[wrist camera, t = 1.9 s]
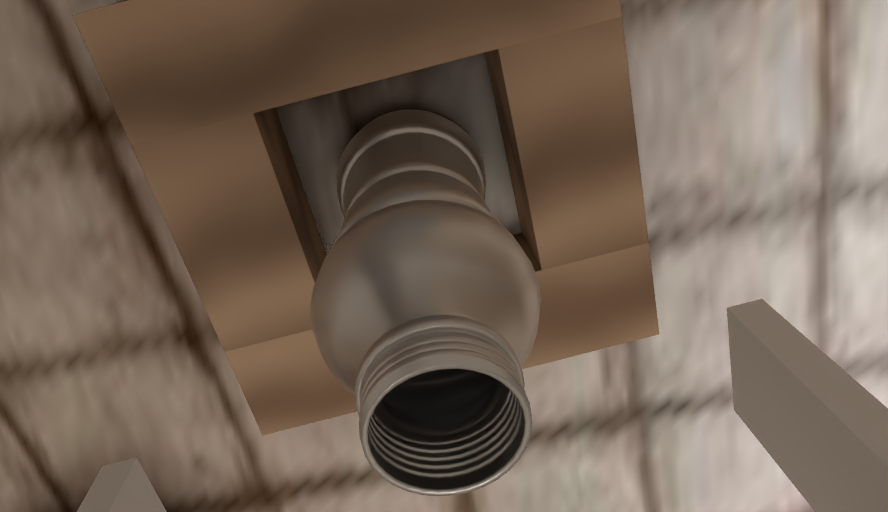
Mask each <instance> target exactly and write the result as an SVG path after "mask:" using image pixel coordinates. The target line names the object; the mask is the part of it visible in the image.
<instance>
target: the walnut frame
mask: <svg viewBox="0 0 888 512" xmlns="http://www.w3.org/2000/svg"><path fill="white" fill-rule="evenodd" d="M72 16H73V18H74V20H75V22H76V25H77V27H78V29H79V31H80V33H81V36H82V38H83V40H84V42H85V44H86V47H87V49H88V51H89V53H90V55H91V58H92V60H93V62H94V64H95V67H96V69H97V71H98V73H99V75H100V78H101V80H102V82H103V84H104V86H105V89H106V91H107V93H108V95H109V97H110V100H111V102H112V104H113V106H114V108H115V111H116V113H117V115H118V117H119V119H120V122H121V124H122V126H123V128H124V130H125V133H126V135H127V137H128V139H129V142H130V144H131V146H132V148H133V150H134V153H135V155H136V157H137V159H138V161H139V164H140V166H141V168H142V170H143V172H144V175H145V177H146V179H147V181H148V183H149V186H150V188H151V190H152V192H153V194H154V197H155V199H156V201H157V203H158V206H159V208H160V210H161V212H162V214H163V217H164V219H165V221H166V223H167V225H168V228H169V230H170V232H171V234H172V236H173V239H174V241H175V243H176V245H177V247H178V250H179V252H180V254H181V256H182V258H183V261H184V263H185V265H186V267H187V270H188V272H189V274H190V276H191V278H192V281H193V283H194V285H195V287H196V289H197V292H198V294H199V296H200V298H201V300H202V303H203V305H204V307H205V309H206V311H207V314H208V316H209V318H210V320H211V322H212V325H213V327H214V329H215V331H216V334H217V336H218V338H219V340H220V342H221V345H222V347H223V349H224V351H225V353H226V356H227V358H228V360H229V362H230V364H231V367H232V369H233V371H234V373H235V375H236V378H237V380H238V382H239V384H240V386H241V389H242V391H243V393H244V395H245V398H246V400H247V402H248V404H249V406H250V409H251V411H252V413H253V415H254V417H255V420H256V422H257V424H258V426H259V428H260V431H261V433H262V435H266V434H270V433H274V432H278V431H282V430H285V429H289V428H293V427H297V426H301V425H305V424H309V423H313V422H317V421H321V420H325V419H329V418H332V417H336V416H340V415H344V414H348V413H352V412H356V411H357V407H356V396H355V395H354V394H352V393H351V392H349V391H348V390H347V389H345V388H344V387H343V386H342V384H341V383H340V382H339V381H338V380H337V379H336V378H335V377H334V376H333V375H332V373H331V371H330V370H329V368H328V366H327V365H326V363H325V361H324V359H323V357H322V355H321V352H320V350H319V347H318V345H317V342H316V339H315V335H314V332H313V329H312V325H311V312H310V304H311V298H312V293H313V287H314V285H315V282H316V279H317V277H318V274H319V271H320V269H321V266H322V264H323V262H324V259H325V257H326V252H325V250H324V247H323V244H322V241H321V238H320V235H319V232H318V229H317V227H316V224H315V221H314V218H313V215H312V212H311V209H310V207H309V204H308V201H307V198H306V195H305V192H304V189H303V186H302V184H301V181H300V178H299V175H298V172H297V169H296V166H295V164H294V161H293V158H292V155H291V152H290V149H289V146H288V143H287V141H286V138H285V135H284V132H283V129H282V126H281V123H280V121H279V118H278V115H277V112H276V109H275V107H279V106H283V105H286V104H290V103H294V102H298V101H302V100H305V99H309V98H313V97H317V96H321V95H325V94H328V93H332V92H336V91H340V90H344V89H347V88H351V87H355V86H359V85H363V84H366V83H370V82H374V81H378V80H382V79H386V78H389V77H393V76H397V75H401V74H405V73H408V72H412V71H416V70H420V69H424V68H427V67H431V66H435V65H439V64H443V63H447V62H450V61H454V60H458V59H462V58H466V57H469V56H473V55H477V54H481V53H485V55H486V60H487V64H488V69H489V74H490V79H491V84H492V89H493V94H494V98H495V103H496V108H497V113H498V118H499V123H500V128H501V133H502V137H503V142H504V147H505V152H506V157H507V162H508V167H509V171H510V176H511V181H512V186H513V191H514V196H515V201H516V205H517V210H518V215H519V220H520V225H521V230H522V233H521V234H518V235H514V238H515V239H516V241H517V242H518V244H519V245H520V247H521V248H522V249H523V251H524V252H525V254H526V256H527V257H528V258H529V260H530V261H531V263H532V266H533V268H534V271H535V273H536V276H537V278H538V282H539V289H540V296H541V304H540V315H539V323H538V331H537V335H536V338H535V341H534V345H533V348H532V351H531V353H530V354H529V356H528V358H527V360H526V361H525V363H524V365H523V366H522V368H521V369H524V368H528V367H532V366H536V365H540V364H544V363H548V362H552V361H556V360H560V359H564V358H568V357H572V356H575V355H579V354H583V353H587V352H591V351H595V350H599V349H603V348H607V347H611V346H615V345H619V344H622V343H626V342H630V341H634V340H638V339H642V338H646V337H650V336H654V335H658V334H659V328H658V319H657V311H656V302H655V294H654V285H653V276H652V268H651V259H650V251H649V242H648V234H647V225H646V217H645V208H644V200H643V191H642V183H641V174H640V166H639V157H638V149H637V140H636V132H635V123H634V114H633V106H632V97H631V89H630V80H629V72H628V63H627V55H626V46H625V38H624V29H623V21H622V12H621V4H620V0H127V1H124V2H120V3H116V4H112V5H108V6H105V7H101V8H97V9H93V10H90V11H86V12H82V13H78V14H75V15H72Z"/></svg>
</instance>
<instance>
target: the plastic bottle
mask: <svg viewBox="0 0 888 512" xmlns="http://www.w3.org/2000/svg"><path fill="white" fill-rule="evenodd" d="M336 178H337V192H338V197H339V202H340V205H341V209H342V212H343V214H344V223H343V226H342V229H341V232H340V233H339V235H338V237H337V239H336V240H335V242H334V244H333V245H332V247H331V249H330V250H329V252H328V254H327V255H326V257H325V259H324V262H323V264H322V266H321V269H320V271H319V274H318V277H317V279H316V282H315V285H314V287H313V293H312V298H311V304H310V312H311V325H312V329H313V332H314V335H315V339H316V342H317V345H318V347H319V350H320V352H321V355H322V357H323V359H324V361H325V363H326V365H327V366H328V368H329V370H330V371H331V373H332V375H333V376H334V377H335V378H336V379H337V380H338V381H339V382H340V383H341V384H342V386H343V387H344V388H345V389H347V390H348V391H349V392H351V393H352V394H354V395H355V396H356V407H357V411H358V414H359V417H360V418H359V429H360V440H361V443H362V447H363V450H364V454H365V456H366V458H367V460H368V461H369V463H370V465H371V466H372V468H373V469H374V470H375V471H376V472H377V473H378V474H379V475H380V476H381V477H382V478H383V479H385V480H386V481H388V482H389V483H391V484H392V485H394V486H396V487H399V488H401V489H403V490H406V491H409V492H413V493H417V494H421V495H430V496H450V495H457V494H462V493H467V492H471V491H474V490H476V489H479V488H482V487H484V486H486V485H488V484H490V483H492V482H494V481H496V480H497V479H499V478H500V477H501V476H503V475H504V474H505V473H507V472H508V471H509V470H510V469H511V468H512V467H513V466H514V465H515V464H516V463H517V462H518V460H519V459H520V458H521V456H522V454H523V453H524V451H525V449H526V448H527V445H528V442H529V439H530V436H531V428H532V419H531V417H532V415H531V409H530V403H529V400H528V398H527V395H526V393H525V390H524V378H523V372H522V369H521V368H522V366H523V365H524V363H525V361H526V360H527V358H528V356H529V354H530V353H531V351H532V348H533V345H534V341H535V338H536V335H537V331H538V323H539V315H540V304H541V296H540V289H539V282H538V278H537V276H536V273H535V271H534V268H533V266H532V263H531V261H530V260H529V258H528V257H527V256H526V254H525V252H524V251H523V249H522V248H521V247H520V245H519V244H518V242H517V241H516V239H515V238H514V236H513V235H512V234H511V233H510V232H509V231H508V230H507V229H506V228H505V227H504V226H503V225H502V224H501V223H500V222H499V221H498V220H497V219H496V218H495V217H494V216H493V215H492V214H491V212H490V210H489V209H488V207H487V206H486V204H485V201H484V199H485V186H486V181H485V170H484V164H483V160H482V157H481V155H480V152H479V150H478V148H477V146H476V145H475V143H474V142H473V140H472V139H471V137H470V136H469V135H468V134H467V133H466V132H465V131H464V130H463V129H462V128H461V127H459V126H458V125H456V124H455V123H453V122H452V121H450V120H448V119H446V118H444V117H442V116H440V115H437V114H435V113H432V112H428V111H423V110H399V111H394V112H390V113H387V114H385V115H382V116H380V117H377V118H376V119H374V120H373V121H371V122H370V123H368V124H367V125H365V126H364V127H363V128H362V129H361V130H360V131H359V132H358V133H357V134H356V135H355V136H354V137H353V138H352V139H351V140H350V142H349V143H348V145H347V146H346V148H345V149H344V151H343V154H342V156H341V159H340V161H339V165H338V170H337V176H336Z"/></svg>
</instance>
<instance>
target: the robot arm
mask: <svg viewBox="0 0 888 512" xmlns="http://www.w3.org/2000/svg"><path fill="white" fill-rule="evenodd" d="M727 317H728V331H729V345H730V359H731V374H732V388H733V402H734V410H735V412H736V413H737V414H738V415H739V417H740V418H741V419H742V420H743V422H744V423H745V424H746V425H747V427H748V428H749V429H750V430H751V432H752V433H753V434H754V435H755V437H756V438H757V439H758V440H759V442H760V443H761V444H762V445H763V447H764V448H765V449H766V450H767V452H768V453H769V454H770V455H771V457H772V458H773V459H774V460H775V462H776V463H777V464H778V465H779V467H780V468H781V469H782V470H783V472H784V473H785V474H786V476H787V477H788V478H789V479H790V481H791V482H792V483H793V484H794V486H795V487H796V488H797V489H798V491H799V492H800V493H801V494H802V496H803V497H804V498H805V499H806V501H807V502H808V503H809V504H810V506H811V507H812V508H813V509H814V511H815V512H888V408H887V407H885V406H884V405H883V404H882V403H881V402H880V401H878V400H877V399H876V398H875V397H874V396H873V395H872V394H870V393H869V392H868V391H867V390H866V389H865V388H864V387H862V386H861V385H860V384H859V383H858V382H857V381H856V380H854V379H853V378H852V377H851V376H850V375H849V374H847V373H846V372H845V371H844V370H843V369H842V368H841V367H839V366H838V365H837V364H836V363H835V362H834V361H833V360H831V359H830V358H829V357H828V356H827V355H826V354H825V353H823V352H822V351H821V350H820V349H819V348H818V347H817V346H815V345H814V344H813V343H812V342H811V341H810V340H808V339H807V338H806V337H805V336H804V335H803V334H802V333H800V332H799V331H798V330H797V329H796V328H795V327H794V326H792V325H791V324H790V323H789V322H788V321H787V320H786V319H784V318H783V317H782V316H781V315H780V314H779V313H777V312H776V311H775V310H774V309H773V308H772V307H771V306H769V305H768V304H767V303H766V302H765V301H764V300H763V299H760V300H756V301H752V302H748V303H744V304H740V305H736V306H732V307H728V308H727ZM77 512H167V511H166V510H165V508H164V506H163V504H162V502H161V501H160V499H159V497H158V495H157V493H156V492H155V490H154V488H153V486H152V484H151V483H150V481H149V479H148V477H147V475H146V474H145V472H144V470H143V468H142V466H141V465H140V463H139V461H138V459H137V457H135V458H132V459H128V460H124V461H120V462H116V463H112V464H108V465H104V466H102V468H101V469H100V471H99V473H98V475H97V477H96V478H95V480H94V482H93V484H92V485H91V487H90V489H89V491H88V493H87V494H86V496H85V498H84V500H83V501H82V503H81V505H80V507H79V509H78V510H77Z"/></svg>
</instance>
